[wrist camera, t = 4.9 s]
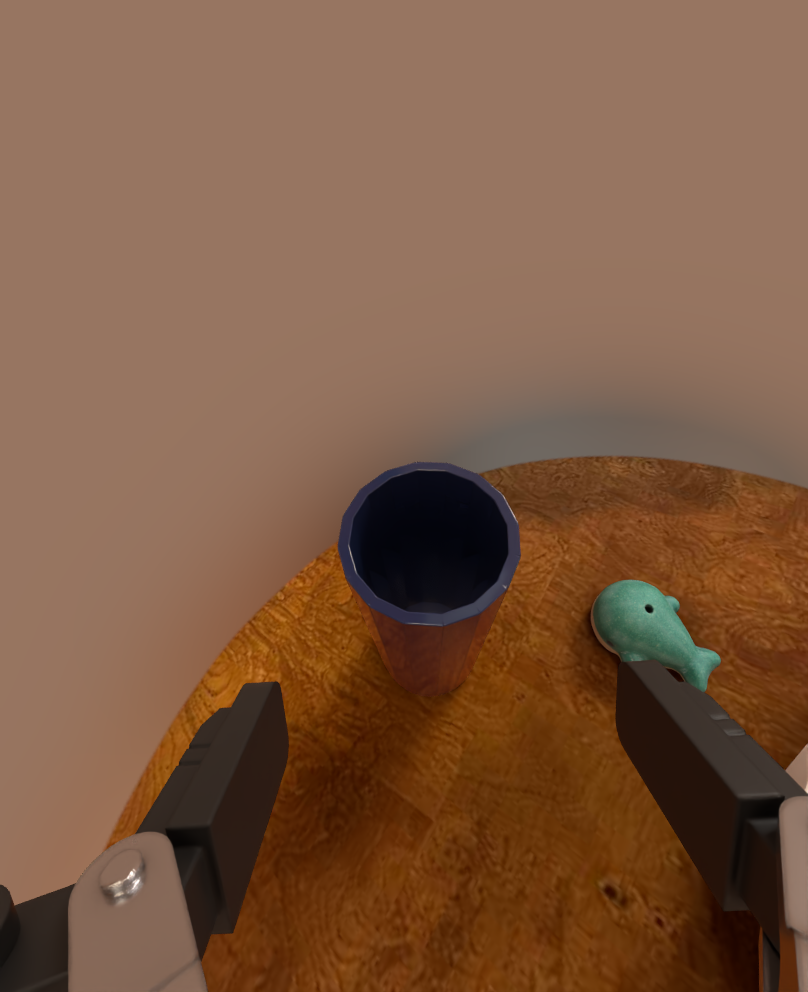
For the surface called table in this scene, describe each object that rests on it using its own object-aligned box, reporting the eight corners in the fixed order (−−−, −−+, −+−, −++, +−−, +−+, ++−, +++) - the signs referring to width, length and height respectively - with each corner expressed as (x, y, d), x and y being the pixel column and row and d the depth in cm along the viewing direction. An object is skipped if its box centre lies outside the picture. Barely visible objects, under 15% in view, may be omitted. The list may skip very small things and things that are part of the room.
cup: (398, 711, 26) (365, 653, 13) (371, 616, 29) (321, 489, 16) (491, 677, 27) (553, 588, 13) (455, 588, 30) (476, 443, 17)
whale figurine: (615, 571, 30) (637, 548, 27) (722, 646, 27) (761, 630, 24) (567, 634, 28) (585, 617, 25) (678, 722, 25) (714, 716, 22)
